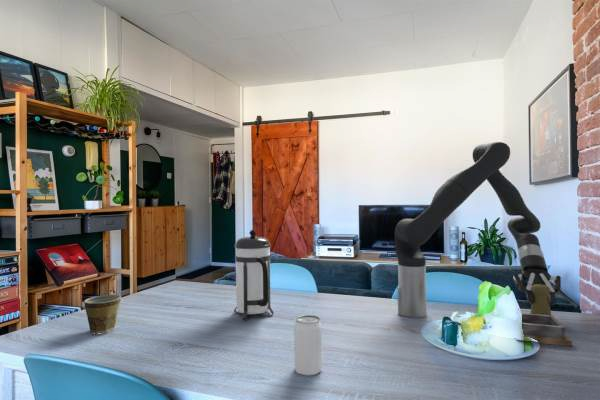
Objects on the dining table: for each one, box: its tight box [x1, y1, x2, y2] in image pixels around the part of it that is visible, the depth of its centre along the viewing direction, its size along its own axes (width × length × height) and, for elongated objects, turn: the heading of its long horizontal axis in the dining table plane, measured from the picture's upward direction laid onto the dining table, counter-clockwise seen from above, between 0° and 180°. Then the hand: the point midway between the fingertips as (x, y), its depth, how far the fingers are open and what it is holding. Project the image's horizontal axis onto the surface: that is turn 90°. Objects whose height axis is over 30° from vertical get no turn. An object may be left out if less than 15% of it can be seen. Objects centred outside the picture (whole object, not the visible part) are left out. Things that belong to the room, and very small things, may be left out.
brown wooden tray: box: [521, 312, 573, 347], centre depth 103 cm, size 13×13×4 cm
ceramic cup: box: [83, 294, 121, 335], centre depth 112 cm, size 13×10×10 cm
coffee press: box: [233, 229, 275, 321], centre depth 125 cm, size 17×16×30 cm
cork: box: [529, 284, 552, 316], centre depth 116 cm, size 6×6×11 cm
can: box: [293, 314, 323, 377], centre depth 83 cm, size 6×6×12 cm
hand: (542, 303), depth 114 cm, fingers closed on cork, 5 cm apart
